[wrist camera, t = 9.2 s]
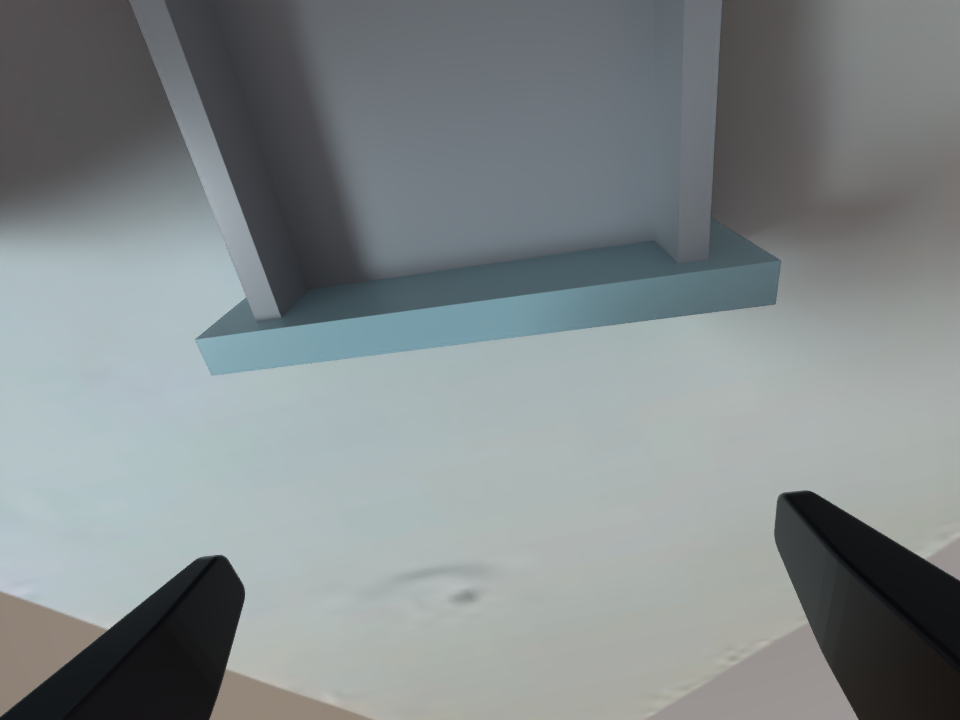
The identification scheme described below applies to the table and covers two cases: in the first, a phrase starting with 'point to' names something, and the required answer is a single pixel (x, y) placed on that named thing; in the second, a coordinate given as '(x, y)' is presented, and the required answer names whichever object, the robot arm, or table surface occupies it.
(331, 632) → the table surface
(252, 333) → the tray
